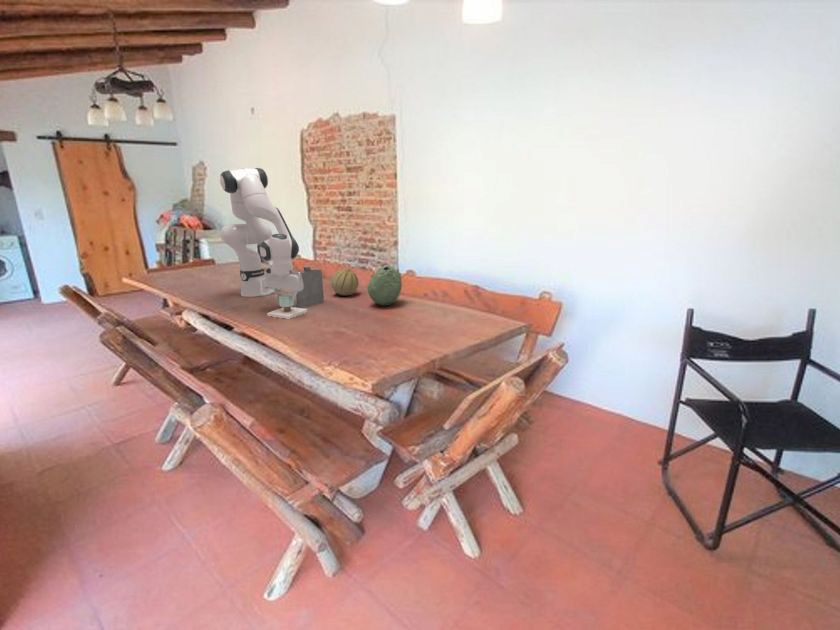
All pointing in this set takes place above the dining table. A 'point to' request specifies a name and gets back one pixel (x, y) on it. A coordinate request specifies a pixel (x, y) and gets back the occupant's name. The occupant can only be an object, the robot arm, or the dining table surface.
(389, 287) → the green bumpy rounded body
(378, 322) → the dining table surface
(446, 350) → the dining table surface
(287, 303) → the cap
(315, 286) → the hip flask
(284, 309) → the post stand
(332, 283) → the cantaloupe
